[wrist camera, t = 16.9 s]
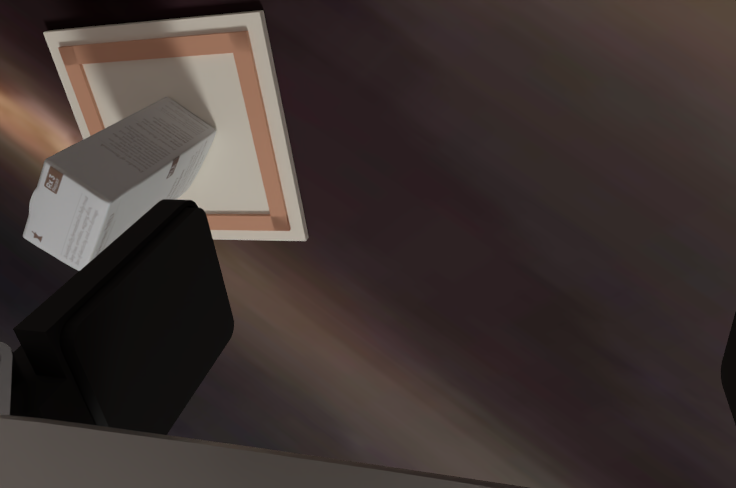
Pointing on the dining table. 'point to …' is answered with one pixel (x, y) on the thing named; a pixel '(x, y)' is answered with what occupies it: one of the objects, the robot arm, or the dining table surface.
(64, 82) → the white square board
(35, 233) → the skincare box
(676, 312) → the dining table surface
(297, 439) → the dining table surface
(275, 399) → the dining table surface
